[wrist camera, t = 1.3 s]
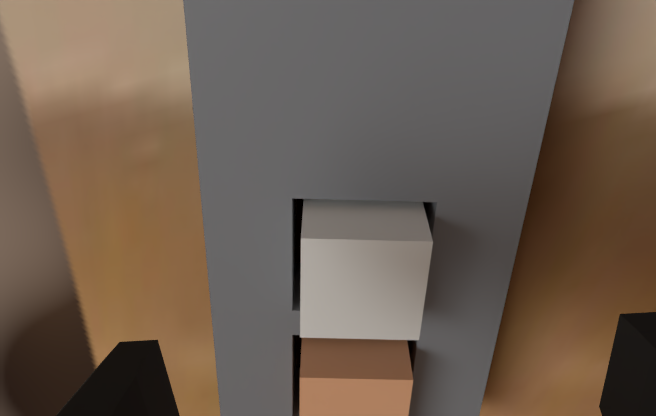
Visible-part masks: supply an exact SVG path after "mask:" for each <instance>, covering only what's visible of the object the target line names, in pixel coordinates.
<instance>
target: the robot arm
mask: <svg viewBox="0 0 656 416" xmlns="http://www.w3.org/2000/svg"><path fill="white" fill-rule="evenodd" d="M599 407H600V410H601V413H602V416H656V312H649V313H631V314H620V317H619V321H618V325H617V330H616V334H615V339H614V343H613V348H612V352H611V356H610V361H609V365H608V370H607V374H606V379H605V383H604V387H603V392H602V396H601V401H600V405H599ZM56 416H179V412H178V409H177V405H176V402H175V398H174V395H173V392H172V388H171V385H170V381H169V378H168V374H167V371H166V367H165V364H164V360H163V357H162V353H161V350H160V347H159V343H158V340H147V341H129V342H119V343H118V345H117V346H116V347H115V348H114V349H113V350H112V351H111V352H110V354H109V355H108V356H107V357H106V358H105V359H104V360H103V361H102V363H101V364H100V365H99V366H98V367H97V368H96V370H95V371H94V372H93V373H92V374H91V375H90V377H89V378H88V379H87V380H86V381H85V382H84V384H83V385H82V386H81V387H80V388H79V390H78V391H77V392H76V393H75V394H74V395H73V396H72V398H71V399H70V400H69V401H68V402H67V404H66V405H65V406H64V407H63V408H62V409H61V410H60V412H59V413H58V414H57V415H56Z"/></svg>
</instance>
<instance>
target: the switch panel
mask: <svg viewBox="0 0 656 416" xmlns="http://www.w3.org/2000/svg"><path fill="white" fill-rule="evenodd" d="M183 2H184V13H185V24H186V35H187V46H188V57H189V69H190V80H191V91H192V102H193V113H194V124H195V135H196V147H197V158H198V169H199V180H200V191H201V202H202V213H203V225H204V236H205V247H206V258H207V269H208V280H209V291H210V302H211V314H212V325H213V336H214V347H215V358H216V369H217V380H218V392H219V403H220V414H221V416H299V412H300V368H296V335H300V280H301V263H296V199H331V200H370V201H408V202H423V205H424V209H425V213H426V217H427V220H428V224H429V228H430V232H431V236H432V240H433V246H432V253H431V260H430V267H429V274H428V281H427V288H426V295H425V302H424V309H423V316H422V323H421V330H420V337H419V340H407V343H408V349H409V355H410V362H411V368H412V375H413V386H412V393H411V400H410V407H409V414H408V416H479V413H480V409H481V405H482V400H483V396H484V392H485V387H486V383H487V379H488V374H489V370H490V366H491V361H492V357H493V352H494V348H495V344H496V339H497V335H498V331H499V326H500V322H501V318H502V313H503V309H504V305H505V300H506V296H507V291H508V287H509V283H510V278H511V274H512V270H513V265H514V261H515V257H516V252H517V248H518V244H519V239H520V235H521V230H522V226H523V222H524V217H525V213H526V209H527V204H528V200H529V196H530V191H531V187H532V183H533V178H534V174H535V169H536V165H537V161H538V156H539V152H540V148H541V143H542V139H543V135H544V130H545V126H546V122H547V117H548V113H549V108H550V104H551V100H552V95H553V91H554V87H555V82H556V78H557V74H558V69H559V65H560V61H561V56H562V52H563V47H564V43H565V39H566V34H567V30H568V26H569V21H570V17H571V13H572V8H573V4H574V0H183Z"/></svg>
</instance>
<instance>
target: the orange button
mask: <svg viewBox="0 0 656 416" xmlns="http://www.w3.org/2000/svg"><path fill="white" fill-rule="evenodd" d="M412 386H413V375H412V368H411V362H410V355H409V349H408V343H407V340H385V339H341V338H302V346H301V364H300V412H299V416H408V414H409V407H410V400H411V393H412Z"/></svg>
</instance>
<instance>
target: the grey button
mask: <svg viewBox="0 0 656 416" xmlns="http://www.w3.org/2000/svg"><path fill="white" fill-rule="evenodd" d="M432 246H433V240H432V236H431V232H430V228H429V224H428V220H427V217H426V213H425V209H424V205H423V202H408V201H370V200H331V199H304V201H303V215H302V229H301V280H300V338H341V339H385V340H419V337H420V330H421V323H422V316H423V309H424V302H425V295H426V288H427V281H428V274H429V267H430V260H431V253H432Z"/></svg>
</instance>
